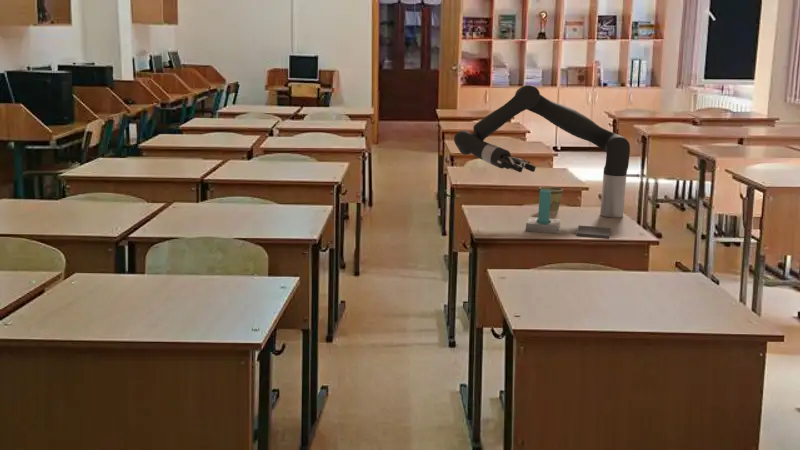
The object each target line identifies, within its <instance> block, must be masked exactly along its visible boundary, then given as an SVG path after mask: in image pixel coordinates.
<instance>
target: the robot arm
mask: <svg viewBox="0 0 800 450" xmlns="http://www.w3.org/2000/svg"><path fill="white" fill-rule="evenodd" d="M540 93H541V92H540V91H539V89H538V88H537V87H536V86H534V85H532V84H526V85H522V86H521V87H519V88H518V89H517V90H516V91H515V93H514V95H513V97H511V98H510V100H508V101H506V103H505V104H503V105H502V106H500V107H499V108H497V109H495V110H494V111H492V112H491V113H489V114H488V115H485V117H484V118H482V119H480V120H479V121H478V122H476V123H475V124H474V125H473V133H472V132H469V131H467V130H460V131H458V132H457V133H455V135H454V137H453V141H454V144H455V145H456V148H457V149H458V151H459V153H460V154H462V155H464V156H467V155H471V154H472V156H473V157H475V158H478V160H479V159H480V160H482V161H484V162H485V163H486V164H487V163H488V164H490V165H492V166H494V167H497V168H499V169H506V170H513V171H516V172H518V173H522V172H523V169H524V170H527V171H530V172H533V173H534V172H536V166H535V165H532V164H531V162H530V161H528V160H525V159H522V158H520V157H514V156H512V154H511V152H510V151H509V150H508V149H506V148H503V147H500V146H497V145H495V144H491V143H489V142H486V141H485V139H486V138H488V137H489V136H491V135H492V134H493V133H495V132H496V131H497V130H499V129H500V128H501V127H502V126H504V125H505V124H507V122H509V121H510V120H511V119H513V118H514V117H516V116H517V115H519V114H520V113H522V112H523V111H525V110H527V111H529V112H531V113H534V114H536V115H539V116H540V117H542V118H543V119H545V120H547V121H549V123H552V124H553V125H554V126H556V127H557V128H559V129H560V130H562V131H564V132H566V133H567V134H570V135H571V136H574V137H576V138H578V139H581V140H583V141H584V140H585V141H587V142H590V143H592V144H593V145H595V146H596V147H598V148H600V149H601V150H602V151H604V152H605V153H606V155H605V156H606V157H605V165H604V167H603V175H602V189H601V201H600V202H601V203H600V212H599V213H600V215H601V216H602V217H605V218H606V217H607V218H616V219H617V218H622V217H623V218H624V207H625V197H626V188H627V187H626V184H627V173H628V170H629V163H630V154H631V145H630V142H629V140H628V139H627V138H625V137H624V136H622V135H621V134H617V133H615V132H614V131H613V132H612V131H610V130H607V129H606V128H603V127H601V126H600V125H599V124H597V123H596V122H594V121H593V120H592V119H590V118H589V117H587V116H586V115H584V114H582V113H580V112H579V111H577V110H575V109H573V108H571V107H570V106H566V105H565V104H560V103H559V102H555V101H552V100H550V99H548V98H546V97H545V96H544V95H542V94H540Z"/></svg>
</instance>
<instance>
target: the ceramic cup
mask: <svg viewBox="0 0 800 450" xmlns="http://www.w3.org/2000/svg"><path fill="white" fill-rule="evenodd" d="M541 189H544V190H551V203H550V213H555V214H558V212H559V208H560V204H561V200H562V198H563V193H564V189H563V187H558V186H546V185H545V186H539V187H538V193H539V194H538V195H539V196H538V197H540V190H541Z"/></svg>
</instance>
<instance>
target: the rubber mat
mask: <svg viewBox="0 0 800 450" xmlns="http://www.w3.org/2000/svg"><path fill="white" fill-rule="evenodd" d="M610 235H611V227H606V226H605V227H604V226H592V225H591V226H590V225H578V227H577V231H576V237H587V238H588V237H589V238H601V239H610Z"/></svg>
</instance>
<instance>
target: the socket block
mask: <svg viewBox="0 0 800 450" xmlns="http://www.w3.org/2000/svg"><path fill="white" fill-rule="evenodd" d="M561 221H562V220H561V219H559V218H549V223H540V222H538V217H537V216H536V217H535V216H533V217H532V216H529V217H528V218H527V221H526V223H525V231H526V232H532V233H535V232H536V233H545V234H547V233H548V234H559V232H560V229H559V228H561Z"/></svg>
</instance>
